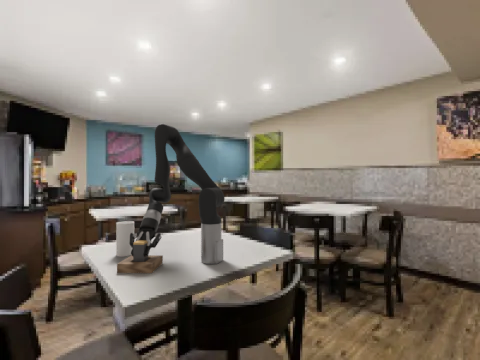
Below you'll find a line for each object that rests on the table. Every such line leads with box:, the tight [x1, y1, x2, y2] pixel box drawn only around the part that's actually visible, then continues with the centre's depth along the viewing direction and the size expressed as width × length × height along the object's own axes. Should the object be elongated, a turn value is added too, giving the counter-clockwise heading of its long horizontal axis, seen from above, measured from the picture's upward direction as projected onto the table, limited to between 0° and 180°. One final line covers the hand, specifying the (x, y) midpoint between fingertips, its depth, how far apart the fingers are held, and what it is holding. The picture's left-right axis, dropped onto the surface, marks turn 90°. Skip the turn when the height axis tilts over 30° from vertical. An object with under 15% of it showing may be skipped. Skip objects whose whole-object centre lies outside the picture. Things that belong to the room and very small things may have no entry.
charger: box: [133, 240, 149, 262], centre depth 104 cm, size 4×4×10 cm
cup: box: [115, 220, 135, 257], centre depth 125 cm, size 8×8×16 cm
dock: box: [116, 254, 164, 274], centre depth 104 cm, size 14×12×4 cm
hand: (138, 255), depth 102 cm, fingers closed on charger, 4 cm apart
